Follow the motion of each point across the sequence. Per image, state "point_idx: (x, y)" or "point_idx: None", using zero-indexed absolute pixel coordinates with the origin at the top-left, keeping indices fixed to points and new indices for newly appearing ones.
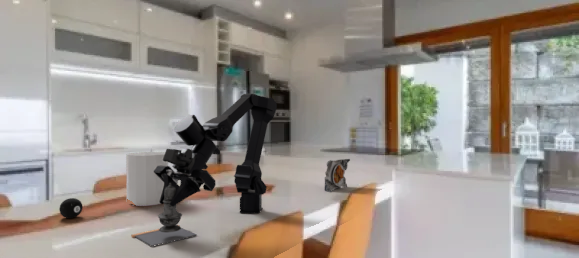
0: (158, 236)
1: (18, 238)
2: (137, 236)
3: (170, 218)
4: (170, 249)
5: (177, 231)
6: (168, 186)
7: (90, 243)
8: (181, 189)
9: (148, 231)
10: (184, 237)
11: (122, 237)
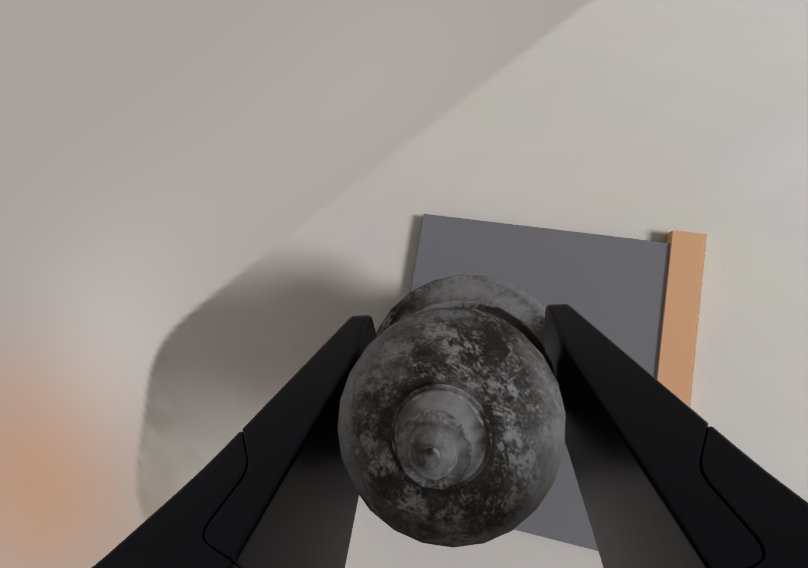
0: None
1: None
2: (642, 244)
3: (386, 319)
4: (322, 257)
5: None
6: (442, 387)
7: (768, 31)
8: (183, 488)
9: (685, 344)
10: None
11: (732, 197)
